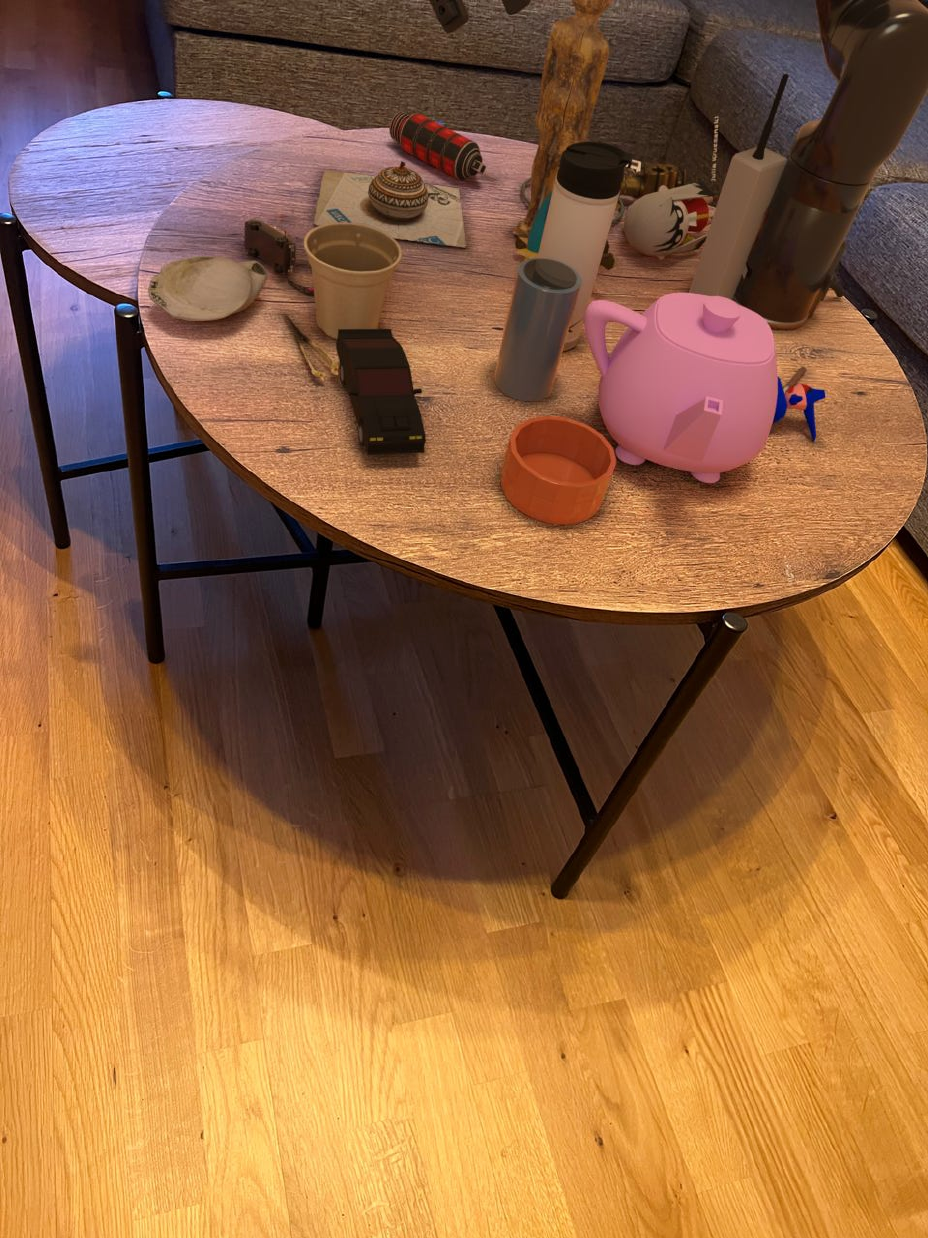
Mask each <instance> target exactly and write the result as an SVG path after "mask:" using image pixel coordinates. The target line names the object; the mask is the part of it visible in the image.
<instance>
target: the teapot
mask: <svg viewBox="0 0 928 1238" xmlns="http://www.w3.org/2000/svg"><path fill="white" fill-rule="evenodd" d="M609 322H613V323H618V324H621V325H622V326H626V327H627V328H626V329H625V331H624V332H623V333H622V334H621V336H620V337H619V339H618V340H617V342H616V344H615V345H614V347H613V348H612V350H611V353H610V354H609V352H608V347H607V340H606V327H607V323H609ZM583 329H584V330H583V331H584V334H585V338H586V341H587V344H588V347H589V350H590V351H591V352H590V353H591V355H592V357H593V360H594V362H595V364H596V366H597V369H598V371H599V373H600V378H599V383H598V391H597V392H598V394H597V395H598V396H597V397H598V407H599V410H600V414H601V418H602V420H603V423H604V425H605V427H606V430H607V431H608V433H609V435H610V436H611V438H612V439H613V440H614V441H615V442H616V443H617V447H616V448H615V449H614V453H615V456H616V457H617V458H618V459H619V460H620V461H622V462H623V463H626V464H628V465H631V466H633V465H634V466H637V465H642V464H643V463H645V462H646V460H648V461H649V462H652V463H655V464H658V465H660V466H664V467H667V468H669V469H670V468H671V469H673V470H679V471H684V472H685V471H686V472H690V474H691V475H692V476H693V478H694V479H696V480H698V481H699V482H703V483H705V484H714V483H716V482H718V481H719V480H720V479H721V473H725V472H729V471H732V470H734V469H737V468H740V467H742V466H743V465H746V464H747V463H750V462H751V461H753V460H754V459H755V458H757V457H758V455H759V454H760V453H761V452H762V451H763V449H764V447H765V446H766V444H767V441H768V438H769V435H770V432H771V430H772V425H773V424H774V423H773V419H774V414H775V410H776V403H777V395H778V377H779V374H778V359H777V358H778V357H777V349H776V344H775V338H774V337H775V336H774V334H773V330H772V328H771V327H770V326H769V325H768V323H767V322H766V320H765V319H764V318H762V317H761V316H760V315H758V314H757V313H755V312H753V311H752V310H749V309H747V308H745V307H743V306H740V305H738V304H737V303H736V302H734V301H732V300H730V299H728V298H725V297H721V296H706V295H701V294H693V293H689V292H672V293H668V294H663V295H662V296H661V297H658V299H656V300H655V301H654V302H653V303H652V304H651V305H649V306H648V307H647V308H646V309H645V310H644V311H643V312H642V313H639V312H637V311H636V310H633V309H631V308H630V307H627V306H624V305H622V304H619V303H617V302H614V301H611V300H606V299H596V300H593V301H591V302H589V305H588V306H587V308H586V310H585V314H584V322H583Z"/></svg>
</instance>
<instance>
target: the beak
mask: <svg viewBox="0 0 928 1238" xmlns="http://www.w3.org/2000/svg"><path fill="white" fill-rule="evenodd" d="M282 315H284V318H285V320H286V322H287V323H288V325H289V326H290V328H291V331H292V332H293V333H294V335H295V338H296V340H297V341H298V342H297V343H298V346H299V348H300V349H301V351H302V353H303V354H302V355H303V356H304V358H305V360H306V363H307V365H308V367H309V369H310V371H311V374H312V375H313V376H315V377H317V378H319V379H320V380H321V381H322V382H324V381H325V378H326V376H327V375H326V372H324V371H319V370H316V369H315V368H314V367H313V364H312V363H311V361H310V358H309V357H308V355H307V352H306V350H305V347H304V344H303V343H305V344H306V345H307V346H308V347H310V348H311V349H312V350H313V351H314V352H315V353H316V354H317V355H318V356H319V358H320V360H322V361H323V362H324V364H326V365H327V366H330V372H331V374H333V375H335V376H339V371H338V370H340V365H339V363H338V362H336V361H335V360H334V359H333V357H331V356H330V354H328V352H326V351H325V350H324V348H322V347H320V346H318V345H317V344H315V343H314V342H313V340H312V339H310V338H309V337H308V336H307V335H305V334H304V333H303V332H302V331H301V330H300V329H299V328H298V326H297V325H295V323H294V322H293V320H292V319H291V318H290V317H289V316H288V315H287V314H286V313H285V312H283V314H282Z"/></svg>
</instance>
